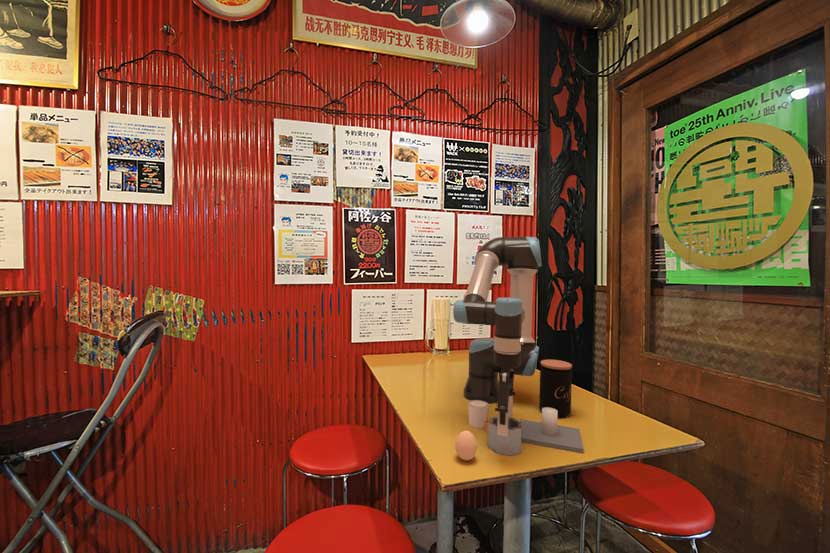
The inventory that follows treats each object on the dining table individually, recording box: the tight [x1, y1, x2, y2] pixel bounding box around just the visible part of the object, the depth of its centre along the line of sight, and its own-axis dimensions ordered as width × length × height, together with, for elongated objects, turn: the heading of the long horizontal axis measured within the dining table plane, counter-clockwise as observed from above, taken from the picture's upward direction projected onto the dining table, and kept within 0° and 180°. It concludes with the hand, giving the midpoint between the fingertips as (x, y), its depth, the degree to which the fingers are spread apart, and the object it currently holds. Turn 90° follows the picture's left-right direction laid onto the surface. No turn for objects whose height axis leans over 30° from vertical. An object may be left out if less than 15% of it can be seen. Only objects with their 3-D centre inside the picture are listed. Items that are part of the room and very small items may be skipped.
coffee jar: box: [538, 359, 573, 419], centre depth 128 cm, size 11×11×18 cm
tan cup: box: [467, 400, 490, 429], centre depth 117 cm, size 7×7×7 cm
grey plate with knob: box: [519, 407, 584, 454], centre depth 109 cm, size 18×14×8 cm
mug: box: [483, 416, 523, 456], centre depth 103 cm, size 10×9×7 cm
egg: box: [454, 430, 478, 461], centre depth 95 cm, size 6×6×8 cm
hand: (505, 425), depth 102 cm, fingers open, 13 cm apart
